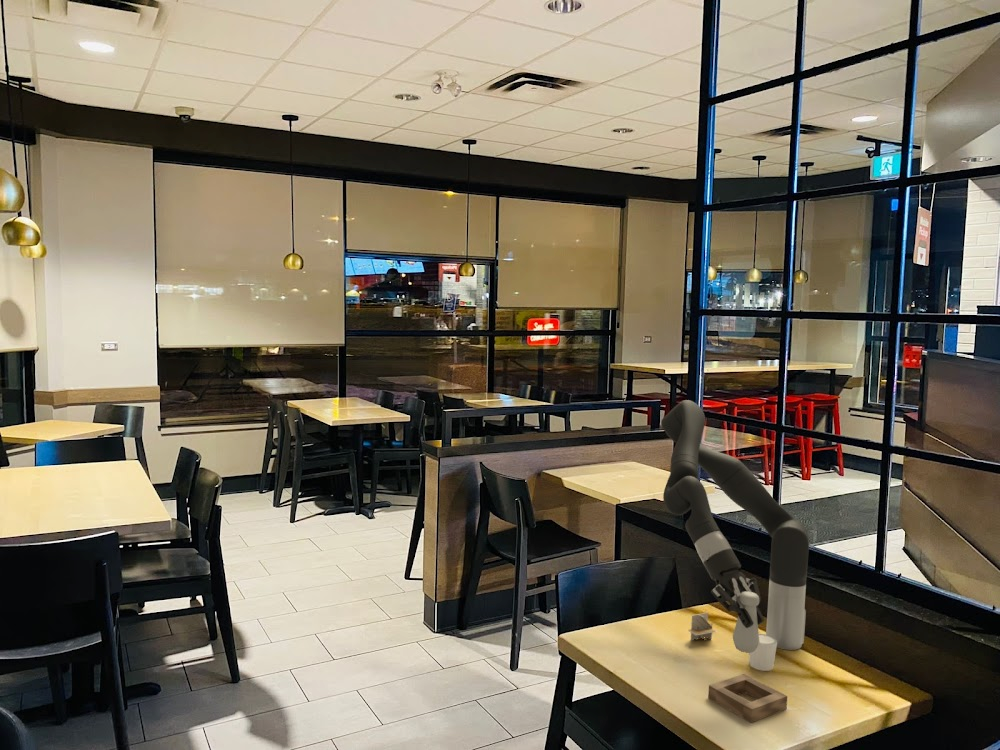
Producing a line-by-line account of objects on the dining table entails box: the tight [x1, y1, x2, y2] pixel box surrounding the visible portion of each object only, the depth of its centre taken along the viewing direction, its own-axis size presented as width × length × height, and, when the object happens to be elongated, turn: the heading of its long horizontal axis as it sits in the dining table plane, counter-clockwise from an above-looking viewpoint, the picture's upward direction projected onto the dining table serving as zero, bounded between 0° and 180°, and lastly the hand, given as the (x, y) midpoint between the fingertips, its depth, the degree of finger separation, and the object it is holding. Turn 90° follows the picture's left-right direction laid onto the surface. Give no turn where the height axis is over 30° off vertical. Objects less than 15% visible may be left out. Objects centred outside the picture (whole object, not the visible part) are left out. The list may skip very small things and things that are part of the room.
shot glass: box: [748, 633, 778, 672], centre depth 188 cm, size 7×7×7 cm
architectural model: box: [688, 612, 716, 641], centre depth 201 cm, size 3×7×7 cm, turn 116°
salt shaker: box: [732, 591, 760, 654], centre depth 168 cm, size 6×6×13 cm
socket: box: [707, 673, 788, 723], centre depth 169 cm, size 12×12×3 cm
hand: (755, 624), depth 167 cm, fingers closed on salt shaker, 3 cm apart
